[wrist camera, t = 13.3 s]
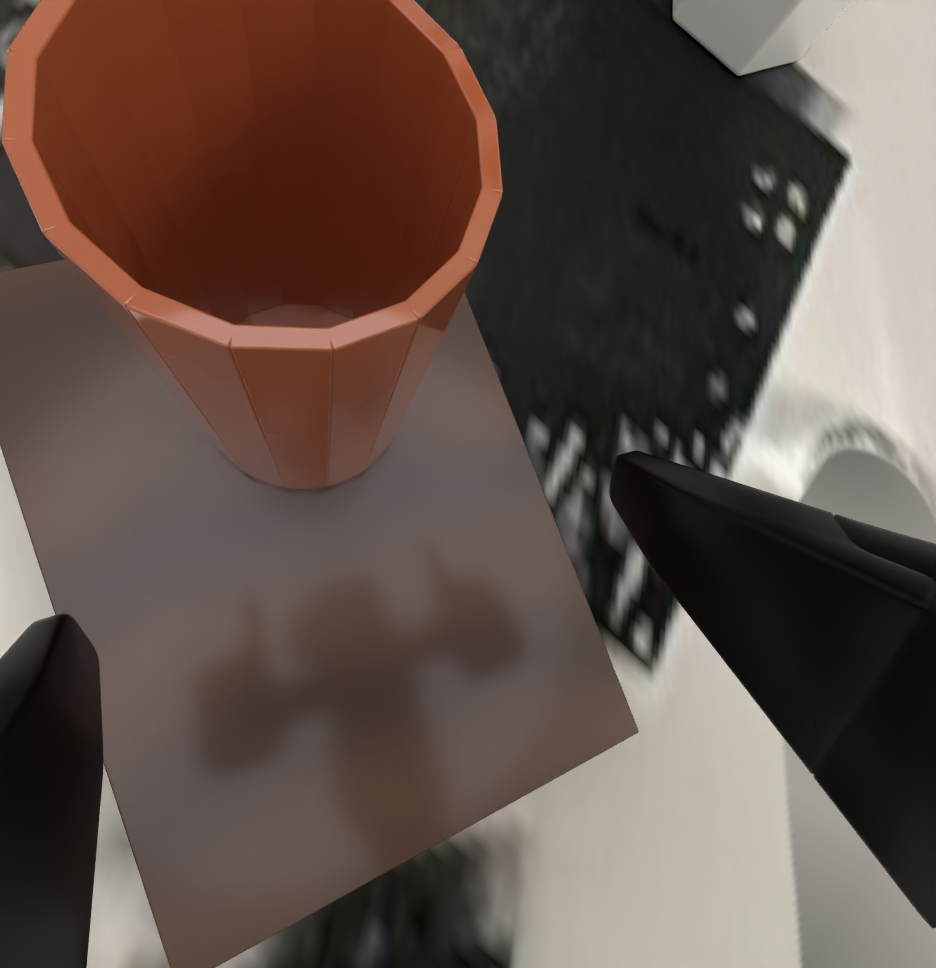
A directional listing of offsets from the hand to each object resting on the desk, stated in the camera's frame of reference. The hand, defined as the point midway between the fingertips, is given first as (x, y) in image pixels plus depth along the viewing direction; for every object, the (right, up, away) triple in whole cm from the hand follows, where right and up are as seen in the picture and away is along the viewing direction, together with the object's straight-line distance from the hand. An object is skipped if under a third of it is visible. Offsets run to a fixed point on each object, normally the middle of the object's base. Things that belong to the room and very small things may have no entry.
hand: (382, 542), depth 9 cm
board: (-4, -1, +11) cm, 12 cm away
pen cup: (-4, +4, +10) cm, 12 cm away
